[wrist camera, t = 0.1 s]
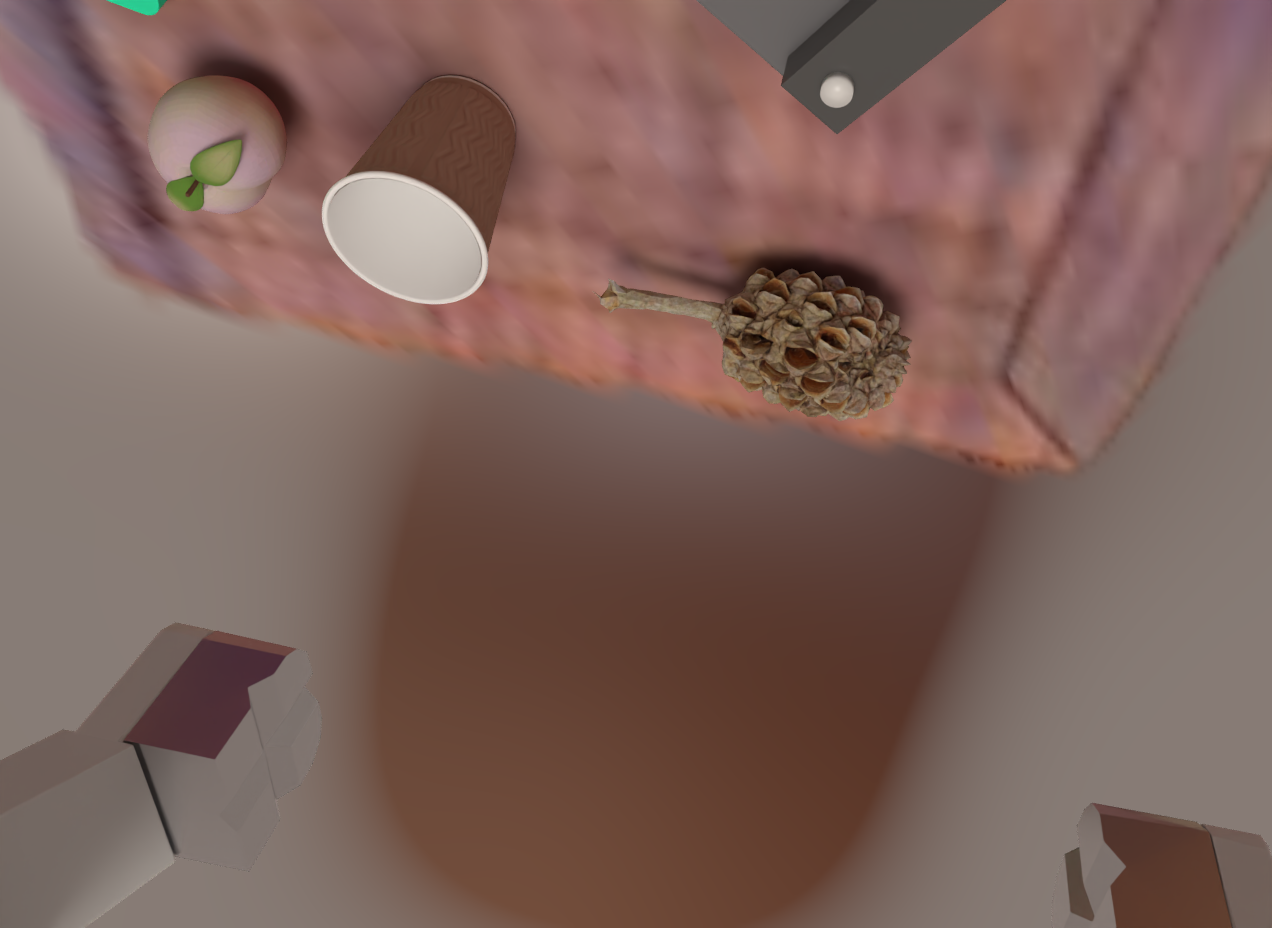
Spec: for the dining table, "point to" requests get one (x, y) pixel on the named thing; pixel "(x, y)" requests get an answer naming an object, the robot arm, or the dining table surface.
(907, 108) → the dining table surface
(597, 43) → the dining table surface
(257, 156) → the decorative fruit
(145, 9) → the camera mount
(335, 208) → the coffee cup
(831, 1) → the camera body
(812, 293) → the pine cone
